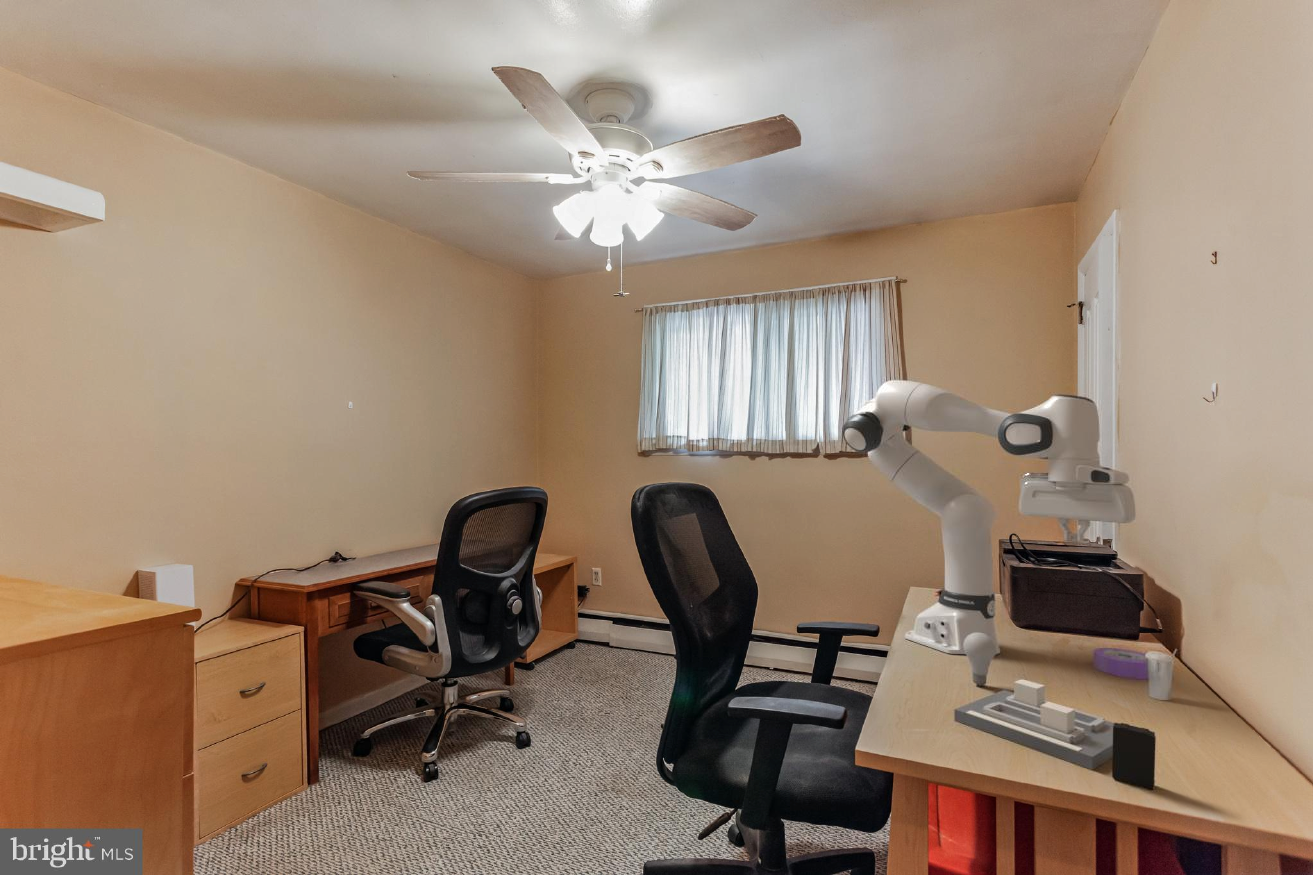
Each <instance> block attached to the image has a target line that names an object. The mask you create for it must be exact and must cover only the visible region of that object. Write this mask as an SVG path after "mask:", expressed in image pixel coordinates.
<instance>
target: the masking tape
mask: <svg viewBox="0 0 1313 875" xmlns="http://www.w3.org/2000/svg"><path fill="white" fill-rule="evenodd" d="M1145 654H1146V653H1144V652H1140V651H1135V650H1130V649H1126V648H1125V649H1124V648H1117V647H1116V648H1115V647H1098V648H1095V649H1094V650H1093V667H1094V668H1095V669H1096V670H1099V671H1101V672H1103V673H1107V674H1109V675H1112V676H1116V677H1121V678H1127V679H1133V680H1134V679H1135V680H1148V674H1147V666H1146V658H1145Z"/></svg>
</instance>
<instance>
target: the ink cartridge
mask: <svg viewBox="0 0 1313 875" xmlns="http://www.w3.org/2000/svg"><path fill="white" fill-rule="evenodd" d="M1113 723H1114V726H1113V756H1112V758H1111V759H1112V761H1111V762H1112V763H1111V777H1112V779H1114V780H1115V781H1117V782H1120V783H1123V784H1127V785H1131V786H1134V787H1137V788H1141V789H1145V790H1149V791H1154V790H1155V789H1154V788H1155V783H1156V781H1155V776H1156V775H1155V773H1156V745H1157V744H1156V738H1157V736H1156V732H1154V731H1151V730H1150V729H1149V728H1145V727H1138V726H1135V725H1131V724H1129V723H1123V722H1121V723H1119V722H1113Z"/></svg>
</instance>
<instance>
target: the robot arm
mask: <svg viewBox="0 0 1313 875" xmlns="http://www.w3.org/2000/svg"><path fill="white" fill-rule="evenodd" d="M910 428H915V429H919V430H922V431H923V430H924V431H929V432H946V433H948V432H949V433H950V432H955V433H959V432H963V433H965V432H966V433H976V434H982V435H985V436H989V437H993V438H997V440H998V442H999V444H1000V447H1001V448H1002V449H1003V450H1004V451H1005V452H1006V453H1008V454H1010V455H1012V456H1016V457H1022V458H1034V459H1035V458H1037V459H1041V460H1048V461H1047V462H1048V463H1047V469H1048V470H1047V472H1037V473H1036V472H1027V473H1026V474H1024V475H1023V476H1021V477H1020V480H1019V489H1020V493H1019V494H1020V495H1019V501H1018V511H1019V513H1020V514H1021V515H1022V516H1024V517H1025V516H1027V517H1038V518H1051V519H1052V518H1053V519H1057V525H1058V526H1059V528H1060V530H1061V531H1062V532H1063V536H1064V538H1063V540H1064V542H1069V543H1078V544H1079V543H1080V544H1081V543H1084V542H1085V540H1084V539H1085V538H1084V537H1085V534H1086V532H1087V531H1088V529H1089V528H1090V526H1091V522H1101V523H1103V522H1104V523H1115V524H1131V523H1132V522H1133V521H1134V520H1135V519H1136V501H1135V498H1134V494H1133V491H1132V489H1131V488H1130V486H1128V485H1127V484H1128V483H1129V481H1130V476H1129V474H1128V473H1127V472H1122V471H1119V470H1116V469H1112V468H1109V467H1106V466H1102V465H1101V460H1100V454H1099V450H1098V445H1099V441H1100V437H1101V434H1100V433H1101V432H1100V431H1101V430H1100V417H1099V412H1098V407H1097V404H1096V403H1095V402H1094V401H1093V400H1092V398H1091V399H1090V398H1088V397H1086V396H1080V395H1074V394H1073V395H1072V394H1059V393H1058V394H1055V395H1052V396H1051V397H1049V399H1047V400H1046V401H1044V402H1042V403H1041V404H1039V405H1036V406H1035V407H1033V408H1029V409H1027V410H1023V411H1020V412H1017V413H1016V412H1015V413H1009V412H1006V411H1002V410H997V409H993V408H990V407H986V406H984V405H980V404H978V403H975V402H973V401H971V400H968V399H967V398H964V397H962V396H959V395H957V394H956V393H953V392H950V391H948V390H946V389H943V388H941V387H938V386H935V385H932V384H927V383H923V382H918V381H912V380H905V379H904V380H901V379H891V380H888V381H885V382H884V383H882V384H881V386H880V387H879V388H878V390H877V391H876V394H875V397H873V398H871V399H869V400H868V401H867V402H865V403H864V404H863V405H862V407H860V408H859V409H858V410H857V411H856V412H855V413H854V414H852V415H850V416H849V418H848V419H847V420H846V421H845V422H844V424H843V426H842V433H841V434H842V436H843V439H844V441H845V443H846V444H847V445H848V446H849V448H851V449H852V450H854V451H855V452H857V453H862V454H865V453H867V457H868V459H869V461H870V462H871V463H872V464H873V466H874V467H875V468H876V469H877V470H878V471H880V473H881V474H882V475H883V476H884V477H885V478H886V479H888V480H889V481H890V482H891V483H893V484H894V486H896V487H898V488H899V489H900V490H901V491H903V492H904V493H905V494H906V495H908V496H909V497H910V498H911V499H913V500H914V501H915V502H917V503H918V504H920V505H922V506H923V507H925V508H927V509H928V510H930V511H931V512H932V513H934V514H936V515H937V516H938V517H940V522H941V523H940V524H941V535H942V537H941V538H942V547H943V554H944V588H942V589H940V590H937V591H934V593H935V594H934V597H938V600H937V602H936V603H934V604H933V605H931V606H929V607H927V608H926V609H925V610H923V611H921V612H920V613H919V614H917V616H916V617H915V622H914V627H913V629H911V630H909V631H906V633H905V634H904V638H905V639H906V640H909V641H912V642H915V643H917V644H920V645H923V646H927V647H929V648H932V649H934V650H937V651H940V652H943V653H946V654H950V655H951V654H952V655H966V653H965V651H964V647H963V644H964V640H965V639H966V637H967V636H968V635H970V634H972V633H983V634H986V635H987V636H989V637H990V638H991V639H992V640H993V642H994V643H995V646H996V653H995V655H998V654H1000V653H1001V649H1000V648H1001V647H1000V646H999V642H998V637H997V632H996V625H995V624H996V623H995V616H996V594H995V593H994V562H993V549H992V540H991V539H992V536H991V527H992V526H993V525H994V522H995V520H996V509H995V507H994V505H993V504H992V502H991V500H989V499H988V498H987V497H986V496H984V495H983V494H982V493H980V492H979V491H977V490H976V489H974V488H973V487H971V486H970V485H969V484H967V483H965V482H964V481H963V480H961V479H960V478H958V477H957V476H956V475H953V473H951V472H949V471H947V470H946V469H945V468H944V467H942V466H941V465H939V464H938V463H936V462H935V460H932V459H931V458H930V457H929V456H927V455H926V454H925V453H923V452H922V451H921V450H919V449H918V448H916V447H915V446H914V445H912V444H911V443H909V442H908V441H907V440H906V438H905V437H904V432H907V431H909V430H910ZM1071 520H1077V525H1078V526H1080V527H1079V529H1078V530H1077V531H1076V532H1072V531H1071V529H1070V527H1069V524H1070V523H1071Z"/></svg>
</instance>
